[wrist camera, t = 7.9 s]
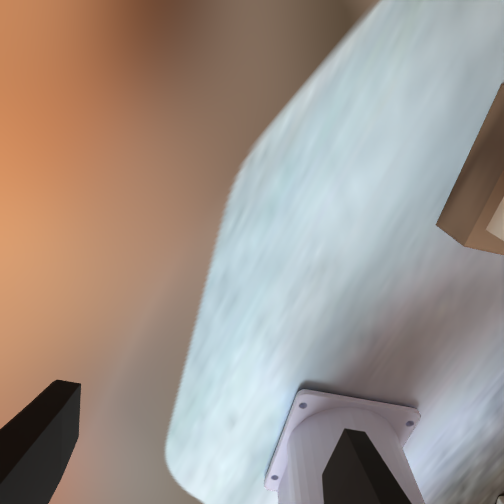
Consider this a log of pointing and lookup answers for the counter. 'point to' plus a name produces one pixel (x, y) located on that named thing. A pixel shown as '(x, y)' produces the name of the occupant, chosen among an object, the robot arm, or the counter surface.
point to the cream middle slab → (497, 222)
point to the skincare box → (500, 500)
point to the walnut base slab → (479, 186)
